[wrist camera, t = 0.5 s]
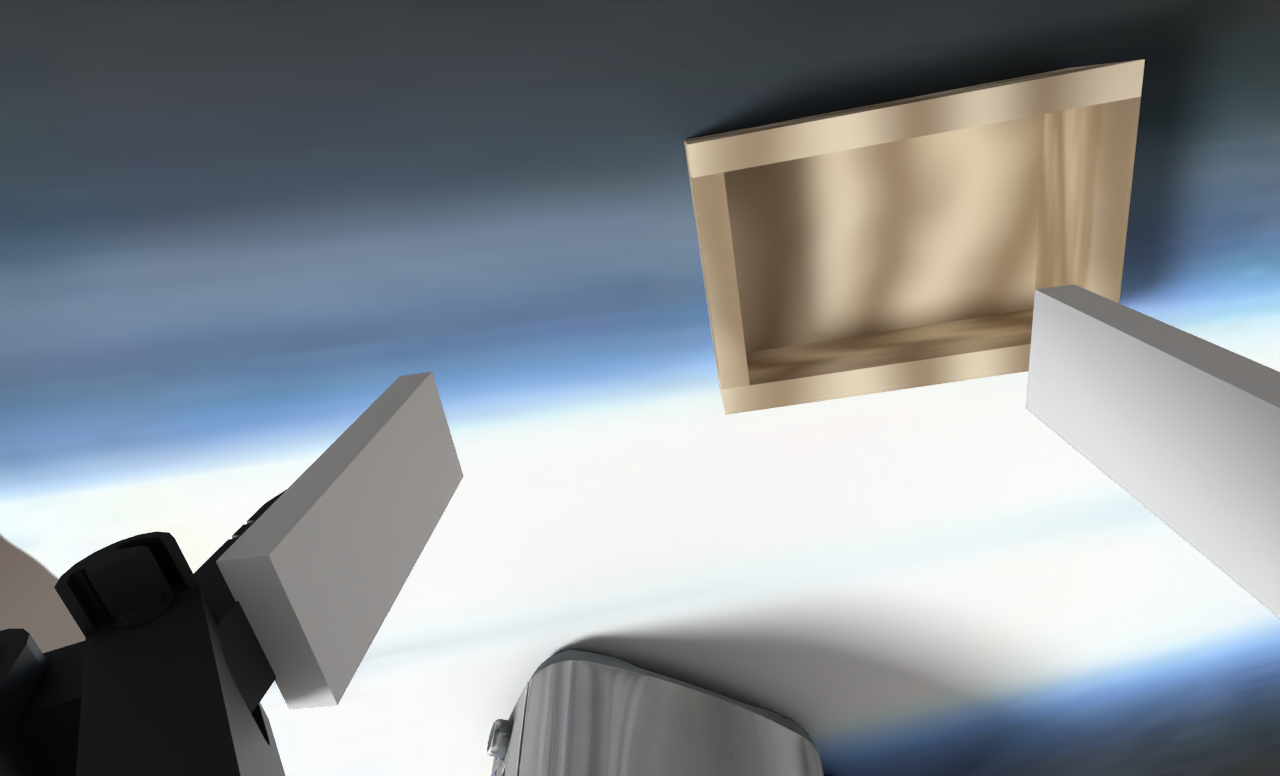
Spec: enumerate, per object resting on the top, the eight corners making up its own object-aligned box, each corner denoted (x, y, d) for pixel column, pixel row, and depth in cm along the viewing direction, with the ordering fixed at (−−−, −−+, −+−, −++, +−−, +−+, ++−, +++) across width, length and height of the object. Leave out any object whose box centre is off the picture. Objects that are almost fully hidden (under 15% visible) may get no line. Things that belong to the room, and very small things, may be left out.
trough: (717, 374, 41) (725, 414, 36) (684, 140, 36) (687, 144, 30) (1050, 324, 39) (1113, 358, 34) (1066, 68, 34) (1145, 59, 28)
